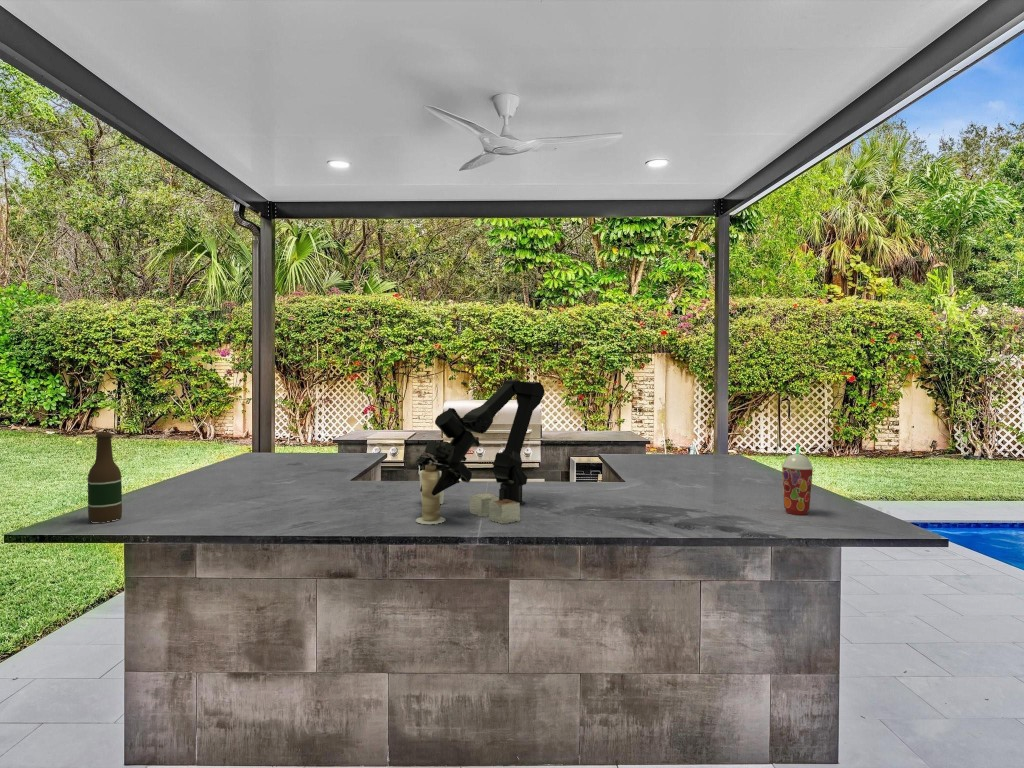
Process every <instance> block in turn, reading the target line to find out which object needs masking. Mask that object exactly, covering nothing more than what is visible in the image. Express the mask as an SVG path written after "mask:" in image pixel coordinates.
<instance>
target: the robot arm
mask: <svg viewBox="0 0 1024 768" xmlns="http://www.w3.org/2000/svg"><path fill="white" fill-rule="evenodd" d="M544 396H545V389H544V386H543V384H542V383H541V382H540V381H521V380H517V379H506V380H505V381H504V382H503V384H502V385H501V386H500V387H499V388H498V389H496V391H495V392H494V393H493V394H492V395H491V396H490V397H488V399H487V400H486V401H485V402H483V404H481V405H480V406H478V407H475V408H473V409H472V410H469V411H468V412H467V413H465V414H464V415H463V417H461V416H460V415H459V414H458V412H457V410H456V409H455V408H454V407H453V408H452V407H448V409H446V410H445V411H443V412H441V413H440V414H438V415H437V417H436V418H435V421H434V424H435V425H436V426H437V428H438V429H439V430H440V431H441V432H442V433H443V435H444V436H445V437H446V438H447V439H451V440H450V442H448V441H441V442H437V441H431V440H430V441H429V440H428V441H427V444H426V446H425V449H424V453H425V454H430V455H432V456H433V457H431V456H428V455H427V456H425V455H420V456H419V457H418V458H417V460H416V461H415V462H416V464H417V465H418V466H419V467H420V468H421V469H422V470H425V465H436V470H439V471H442V472H441V477H440V479H439V480H438V482H437V484H436V485H435V487H434V489H433V491H432V495H434V496H435V495H436V494H438V493H440V492H442V491H443V490H444V491H446V490H447V489H448V488H451V487H452V486H455V485H456V484H460V483H461V482H464V483H466V484H467V483H468V484H469V483H470V482H471V480H472V478H473V472H472V471H471V470H470V469H469V468H468V467H467V465H466V464H465V463H464V462H466V461H467V457H466V455H467V454H468V452H469V451H470V450H471V448H472V447H480V446H481V444H480V443H481V442H480V441H479V436H475V435H474V434H473V433H475V434H483V435H484V434H485V433H486V432H487V431H488V430H489V428H490V427H491V426H492V425H493V423H494V418H495V416H496V415H497V414H498V413H499V412H500V411H501V410H502V409H503V408H504V407H505V406H506V405H507V404H508V403H509V402H510V400H512V399H513V398H514V397H515V400H516V404H517V409H516V412H515V415H514V418H513V422H512V425H511V428H510V431H509V435H508V438H507V440H506V445H505V447H504V450H502V451H501V452H496V454H495V456H494V457H495V458H494V461H493V462H492V466H493V467H492V473H493V474H494V475H493V476H494V477H495V482H496V483H497V484H499V489H498V497H499V500H504V499H508V500H512V501H515V502H518V503H520V505H523V504H526V501H524V500H523V486H524V485H527V482H528V476H527V475H526V474H525V472H523V470H522V466H523V461H522V457H521V454H522V453H521V452H522V449H523V445H524V443H525V439H526V436H527V431H528V429H529V426H530V422H531V419H532V416H533V412H534V411H535V409H537V408H538V406H539V405H540V404H541V402H542V400H543V398H544ZM420 491H421V492H422V485H421V489H420V488H419V492H420ZM421 492H420V493H421Z"/></svg>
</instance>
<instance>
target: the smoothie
mask: <svg viewBox="0 0 1024 768" xmlns="http://www.w3.org/2000/svg"><path fill="white" fill-rule="evenodd" d="M795 446H796V451H795V452H796V453H793V454H790V455H789V456H788V455H787V457H786V458H785V460H784V461H783V463H782V464H781V468H782V469H781V471H782V472H781V473H782V491H783V493H782V494H783V507H784V509H785V512H786V513H787V514H790V515H795V516H804V515H807V514H808V513H809V512H808V511H809V510H810V508H811V507H810V506H811V498H812V497H811V495H812V494H811V493H812V484H813V483H812V481H813V472H814V466H813V465H812V463H811V461H810V459H809V458H808V457H807V456H805V455H803V454H800V445H799V444H796V445H795Z"/></svg>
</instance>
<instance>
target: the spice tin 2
mask: <svg viewBox="0 0 1024 768" xmlns="http://www.w3.org/2000/svg"><path fill="white" fill-rule="evenodd" d="M520 505H521V504H520V503H518V502H515V501H512V500H508V499H504V500H498V501H491V502H489V516H488V520H489V519H490V520H489V521H491V520H492V521H491V522H494V521H495V523H497V522H498V523H497V524H500V523H501V524H500V525H504V524H503V523H506V524H510V523H509V522H511V523H516V522H515V521H517V522H520V519H521V518H520V517H521V516H520V514H521V513H520V512H521V511H520V509H521V507H520Z"/></svg>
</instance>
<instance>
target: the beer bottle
mask: <svg viewBox="0 0 1024 768" xmlns="http://www.w3.org/2000/svg"><path fill="white" fill-rule="evenodd" d="M112 437H113V434H112V432H107V431H104V432H98V433H96V434H95V438H96V452H95V461H94V463H93V465H92V466H91V468H90V470H89V472H88V475H87V516H88V517H87V518H88V521H89V520H90V521H92V522H107V521H112V520H116V519H119V518H121V517H122V516H123V500H122V499H123V498H122V497H123V495H122V494H123V493H122V492H123V491H122V490H123V489H122V473H121V469H120V468H119V466H118V465H117V464H116V462H115V461H114V456H113V447H112ZM121 519H122V518H121Z"/></svg>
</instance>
